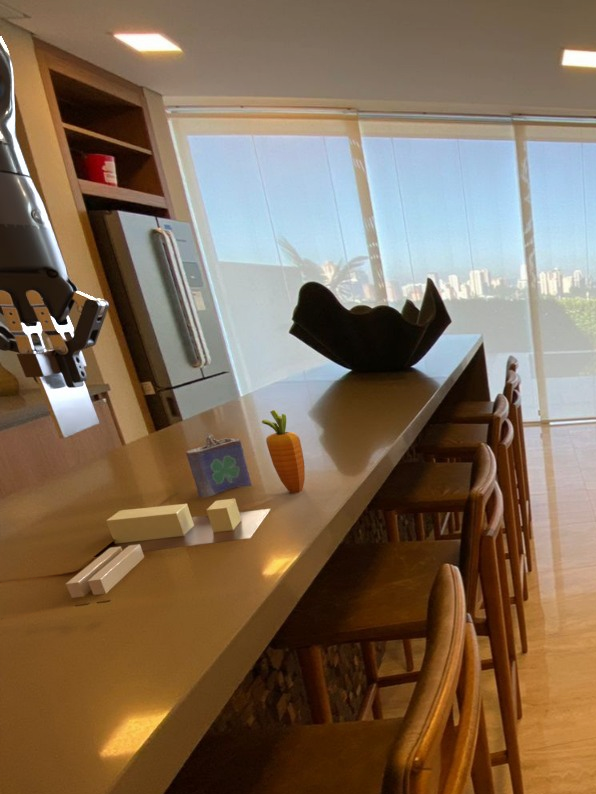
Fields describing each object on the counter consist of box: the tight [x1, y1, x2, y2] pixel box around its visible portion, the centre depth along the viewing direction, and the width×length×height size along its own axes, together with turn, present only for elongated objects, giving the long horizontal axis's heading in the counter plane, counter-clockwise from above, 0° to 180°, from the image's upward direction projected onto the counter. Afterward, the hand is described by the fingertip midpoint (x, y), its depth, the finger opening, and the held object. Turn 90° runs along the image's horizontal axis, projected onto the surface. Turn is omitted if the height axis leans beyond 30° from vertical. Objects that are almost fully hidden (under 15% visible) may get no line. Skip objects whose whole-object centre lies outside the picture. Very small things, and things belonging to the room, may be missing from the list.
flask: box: [185, 433, 253, 498], centre depth 97 cm, size 9×3×11 cm, turn 164°
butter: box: [105, 503, 194, 544], centre depth 79 cm, size 8×4×4 cm, turn 109°
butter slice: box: [206, 498, 241, 532], centre depth 82 cm, size 2×4×4 cm, turn 19°
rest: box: [65, 544, 145, 607], centre depth 69 cm, size 10×3×3 cm, turn 19°
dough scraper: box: [16, 347, 100, 439], centre depth 67 cm, size 9×2×10 cm, turn 19°
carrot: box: [261, 409, 306, 494], centre depth 95 cm, size 5×5×15 cm
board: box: [92, 508, 271, 559], centre depth 81 cm, size 18×12×1 cm, turn 109°
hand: (64, 386), depth 66 cm, fingers closed on dough scraper, 1 cm apart
